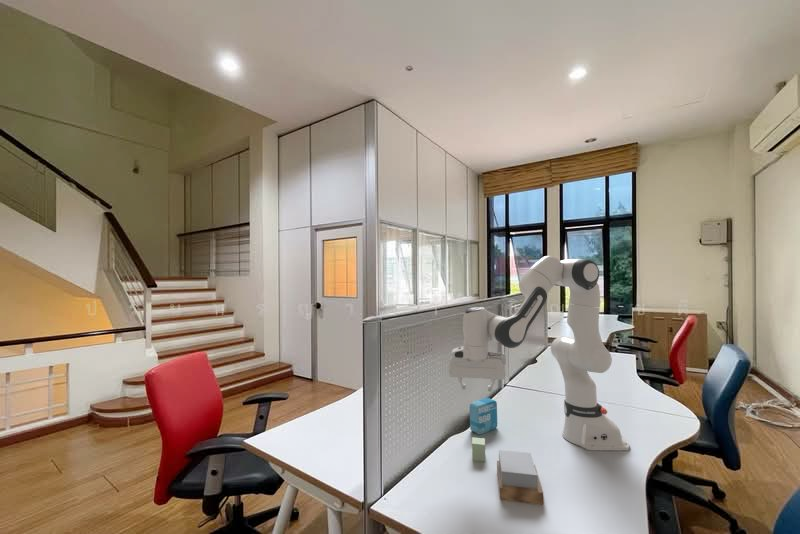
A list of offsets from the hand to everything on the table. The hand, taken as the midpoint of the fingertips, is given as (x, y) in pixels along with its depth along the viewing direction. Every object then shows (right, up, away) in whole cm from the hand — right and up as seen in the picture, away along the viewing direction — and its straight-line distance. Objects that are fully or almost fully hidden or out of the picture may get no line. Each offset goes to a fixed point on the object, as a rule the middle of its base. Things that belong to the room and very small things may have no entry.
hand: (476, 390), depth 118 cm
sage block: (+1, -24, -1) cm, 24 cm away
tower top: (+9, -20, -17) cm, 28 cm away
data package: (+8, -25, +20) cm, 33 cm away
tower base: (+9, -24, -17) cm, 31 cm away
